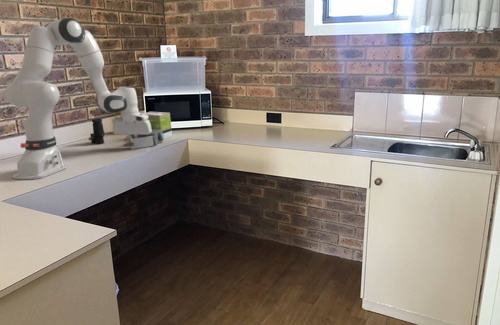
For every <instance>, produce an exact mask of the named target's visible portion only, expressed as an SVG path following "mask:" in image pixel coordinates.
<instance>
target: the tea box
mask: <svg viewBox="0 0 500 325" xmlns="http://www.w3.org/2000/svg"><path fill="white" fill-rule="evenodd" d="M142 114H145V115H148V119H147V120H149V121H150V124H151V129H162V132H163V134H164V139H163V141H164V140H167V139H170V138H172V137H173V132H172V131H173V129H172V120H171V112H163V111H161V112H160V111H148V112H144V113H142Z"/></svg>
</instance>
